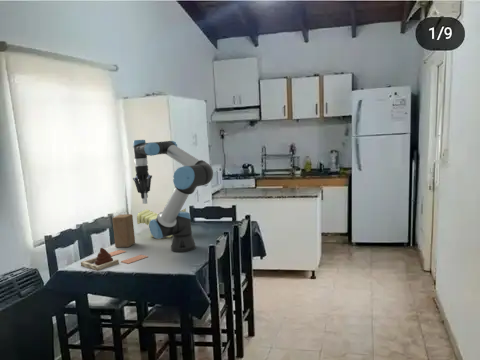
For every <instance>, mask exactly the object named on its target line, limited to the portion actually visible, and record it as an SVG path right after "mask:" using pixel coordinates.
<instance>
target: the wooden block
mask: <svg viewBox="0 0 480 360" xmlns="http://www.w3.org/2000/svg"><path fill="white" fill-rule="evenodd" d="M112 229H113V237H114V247H115V248H130V247H131V246H133V245H134V244H135V243H136V238H135V237H136V236H135V228H134V218H133V214H132V213H131V214H130V213H128V214H126V213H125V214H124V213H123V214H118V215H116V216H114V217H112Z"/></svg>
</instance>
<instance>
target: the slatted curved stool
mask: <svg viewBox="0 0 480 360" xmlns="http://www.w3.org/2000/svg"><path fill="white" fill-rule="evenodd" d="M186 210H187V209H186V208H183V209H181V210H180V212H187V211H186ZM158 214H159V213H157V212H154V211H150V209H148V208H146V209H144V210H141V211H140V212H138V213H137V215H136V220H137V221H136V223H137V225H140V224H145V225H147V226H149V223H150V221H151V220H153V219H156V218H157V216H158ZM150 235H151V238H154V237H153V236H152V234H151V233H150ZM171 237H173V235H171V236H167V237H166V238H171Z"/></svg>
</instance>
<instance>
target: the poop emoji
mask: <svg viewBox="0 0 480 360" xmlns="http://www.w3.org/2000/svg"><path fill="white" fill-rule="evenodd" d="M109 253H110V252H109V251H107V249H105V248H103V247H100V250H99V252H98V253H97V255H96V257H97V260H96V261H95V262H94V265H101V264H105V263H108V262H111V261H114V259H113V256H111V255H110V254H109Z"/></svg>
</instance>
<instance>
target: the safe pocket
mask: <svg viewBox="0 0 480 360" xmlns="http://www.w3.org/2000/svg"><path fill="white" fill-rule="evenodd" d="M96 260H97V256H95V257H93V258H90V259H86V260H83V261H80V265H81V266H82V267H85V268H89V269H92V270H95V271H99V270H102V269H105V268H106V269H107V268H109V267H112V266H115V265H118V264H119V263H120V261H119V259H113V261H111V262H108V263H105V264H101V265H96V264H95V261H96ZM93 263H94V264H93Z"/></svg>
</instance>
